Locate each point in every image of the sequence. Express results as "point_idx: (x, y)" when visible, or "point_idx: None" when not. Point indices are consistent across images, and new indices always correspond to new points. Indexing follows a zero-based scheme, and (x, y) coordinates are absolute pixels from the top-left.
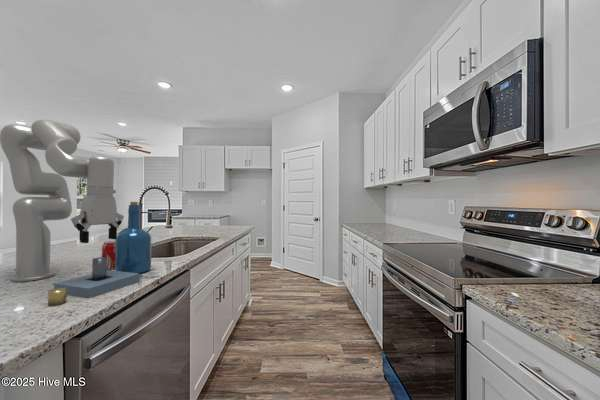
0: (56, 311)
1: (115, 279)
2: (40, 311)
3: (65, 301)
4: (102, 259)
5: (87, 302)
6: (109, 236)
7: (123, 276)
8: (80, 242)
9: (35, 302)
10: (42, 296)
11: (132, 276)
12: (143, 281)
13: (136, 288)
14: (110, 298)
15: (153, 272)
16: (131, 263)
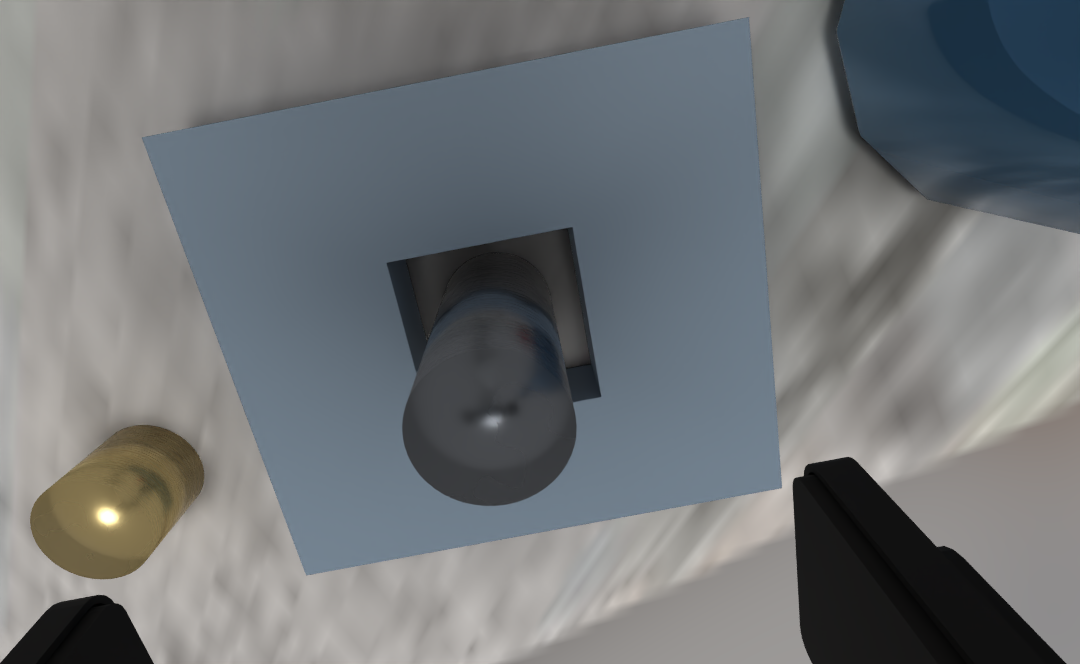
0: None
1: (551, 500)
2: None
3: (188, 507)
4: (490, 503)
5: (292, 599)
6: (821, 540)
7: (646, 463)
8: (71, 604)
9: (40, 306)
10: (98, 171)
11: (699, 498)
12: None
13: (622, 585)
14: (412, 638)
15: (1050, 255)
16: (968, 183)
